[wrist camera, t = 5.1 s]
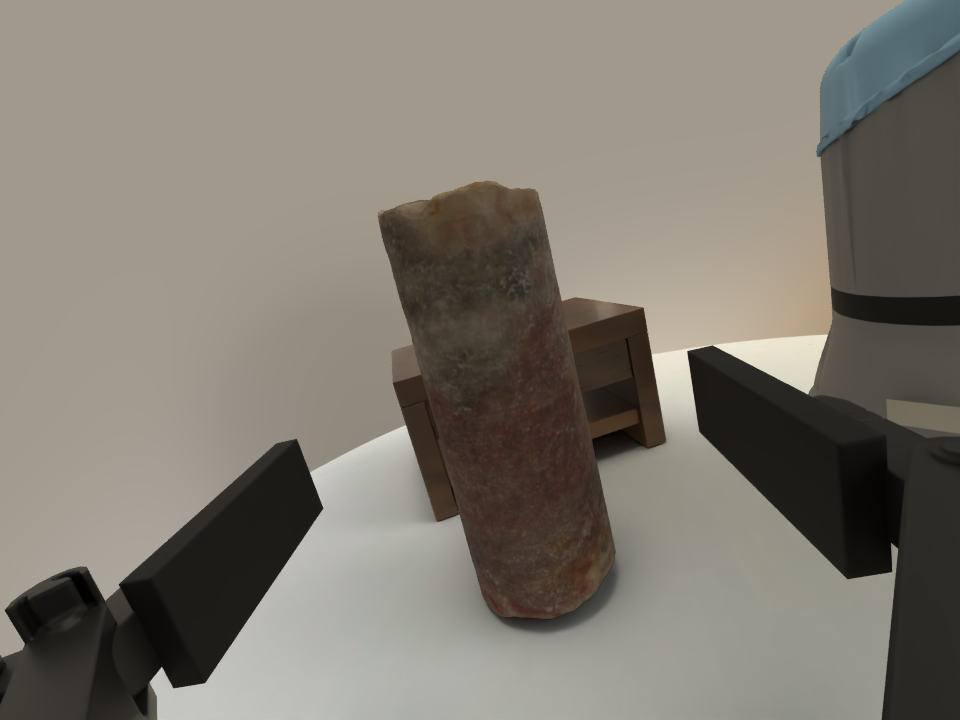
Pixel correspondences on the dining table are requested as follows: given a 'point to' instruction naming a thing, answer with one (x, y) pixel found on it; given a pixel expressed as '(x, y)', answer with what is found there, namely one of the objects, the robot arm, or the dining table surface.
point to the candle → (503, 393)
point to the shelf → (602, 379)
